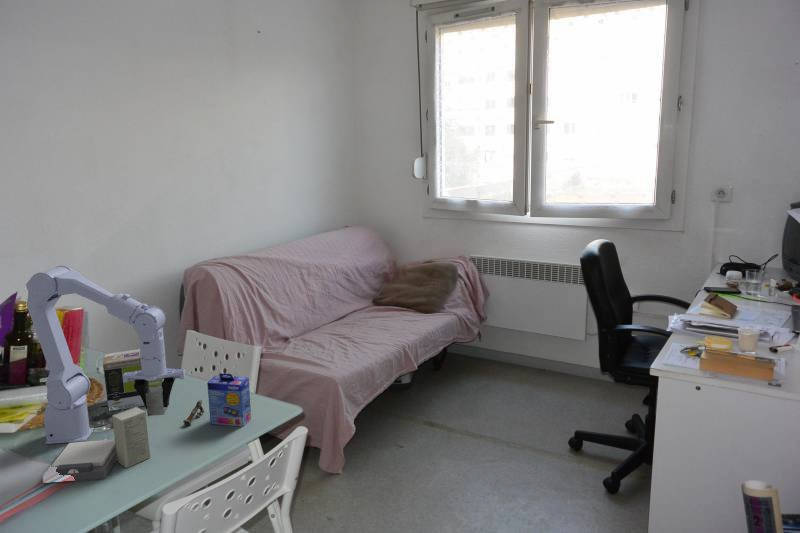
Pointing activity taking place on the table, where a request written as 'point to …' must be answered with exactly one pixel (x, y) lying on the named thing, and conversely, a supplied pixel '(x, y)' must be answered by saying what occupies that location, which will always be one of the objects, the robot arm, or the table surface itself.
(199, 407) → the wooden post with brackets
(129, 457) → the skincare box
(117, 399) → the tea box
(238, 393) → the ink cartridge box
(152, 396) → the block
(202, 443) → the table surface
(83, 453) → the dial scale
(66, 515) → the table surface
